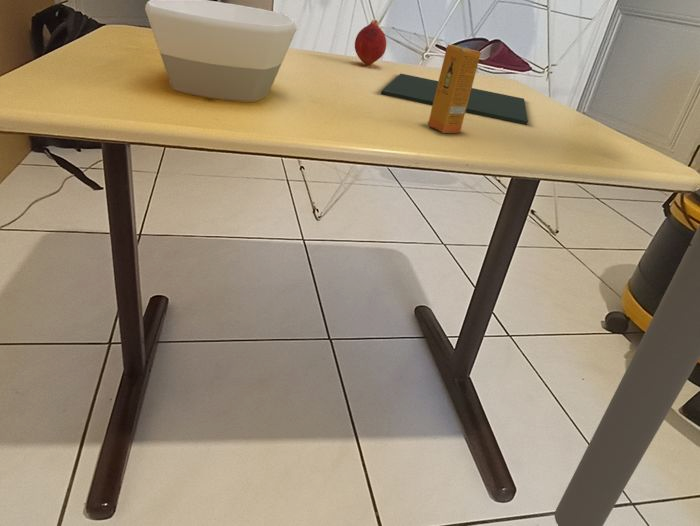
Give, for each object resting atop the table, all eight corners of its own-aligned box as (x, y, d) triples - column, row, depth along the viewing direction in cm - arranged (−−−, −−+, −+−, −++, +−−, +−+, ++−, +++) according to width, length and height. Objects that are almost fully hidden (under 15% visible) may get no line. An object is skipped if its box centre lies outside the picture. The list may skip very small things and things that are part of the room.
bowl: (127, 93, 64) (124, 4, 59) (169, 65, 79) (169, -7, 75) (283, 116, 65) (291, 31, 61) (294, 84, 81) (301, 14, 76)
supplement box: (463, 133, 71) (483, 51, 66) (442, 133, 69) (462, 49, 65) (446, 125, 74) (465, 45, 69) (426, 125, 72) (444, 43, 67)
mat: (523, 101, 97) (524, 98, 97) (527, 124, 81) (528, 121, 81) (400, 76, 100) (400, 73, 100) (380, 94, 84) (381, 90, 84)
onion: (380, 70, 102) (388, 23, 98) (349, 64, 102) (356, 17, 98) (384, 66, 107) (392, 21, 103) (354, 60, 107) (361, 15, 103)
